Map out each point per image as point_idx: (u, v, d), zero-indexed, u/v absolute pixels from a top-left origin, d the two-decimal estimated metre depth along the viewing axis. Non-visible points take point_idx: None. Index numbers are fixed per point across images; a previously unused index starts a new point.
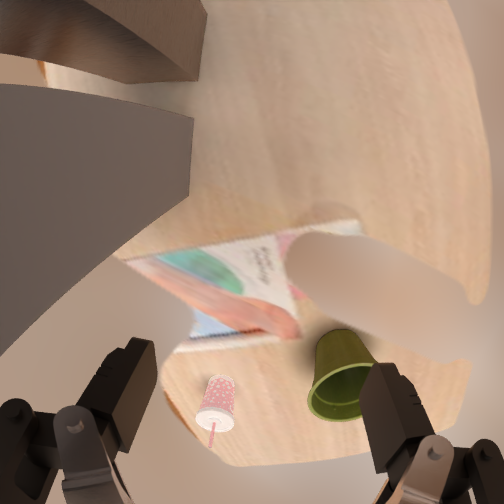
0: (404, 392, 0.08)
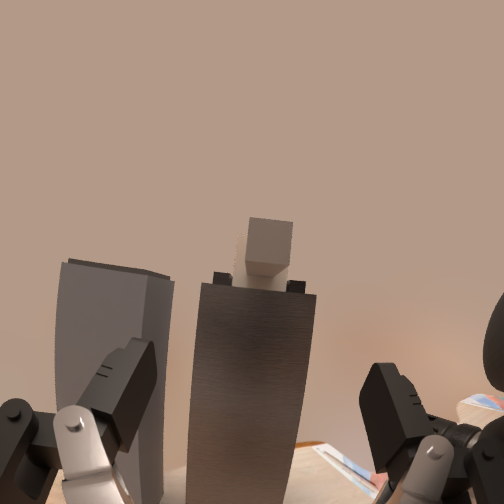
0: (404, 392, 0.08)
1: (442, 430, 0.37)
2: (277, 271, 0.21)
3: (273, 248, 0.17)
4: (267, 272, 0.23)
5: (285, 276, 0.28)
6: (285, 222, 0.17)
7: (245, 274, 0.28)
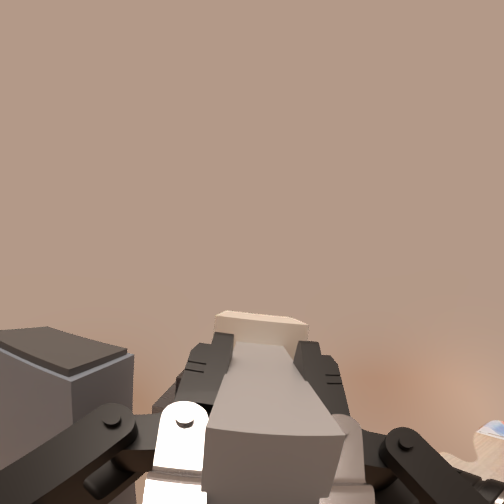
0: (320, 369, 0.09)
1: None
2: None
3: (278, 500, 0.04)
4: None
5: None
6: (322, 438, 0.04)
7: None
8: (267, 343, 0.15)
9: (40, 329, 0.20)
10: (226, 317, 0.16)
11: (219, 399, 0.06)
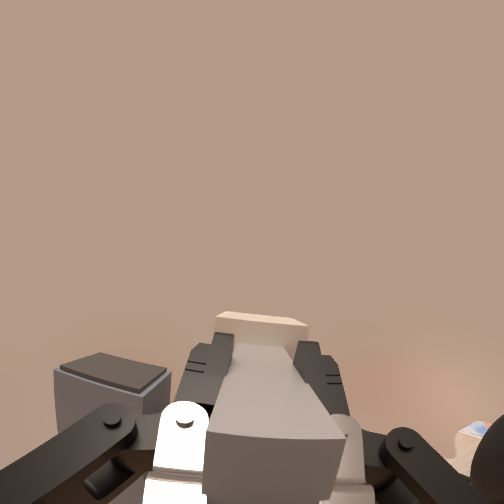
0: (320, 369, 0.09)
1: None
2: None
3: (279, 503, 0.04)
4: None
5: None
6: (323, 442, 0.04)
7: None
8: (267, 344, 0.15)
9: (97, 356, 0.30)
10: (226, 318, 0.16)
11: (219, 402, 0.06)
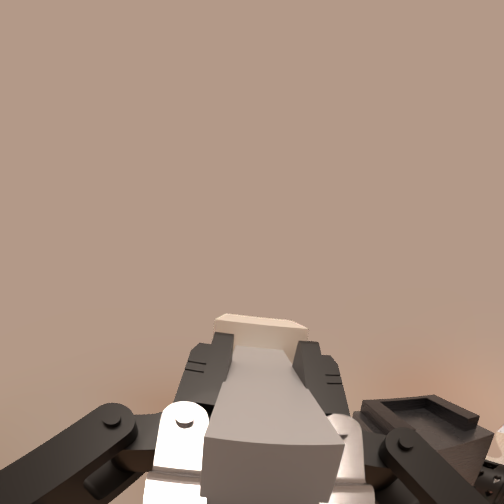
0: (320, 369, 0.09)
1: None
2: None
3: None
4: None
5: None
6: (321, 448, 0.04)
7: None
8: (266, 347, 0.15)
9: None
10: (225, 321, 0.15)
11: (218, 407, 0.06)
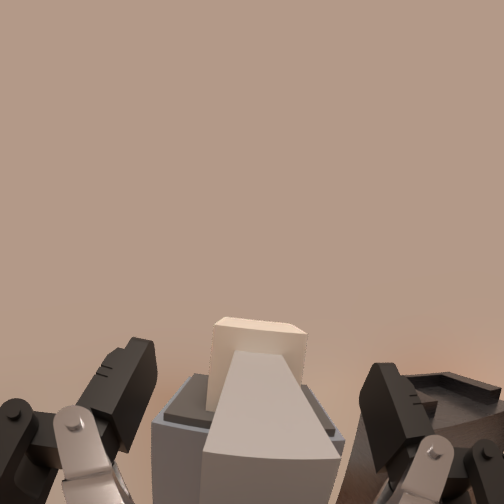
0: (404, 392, 0.08)
1: None
2: None
3: None
4: None
5: None
6: (318, 462, 0.04)
7: None
8: (266, 352, 0.15)
9: (199, 381, 0.20)
10: (224, 326, 0.15)
11: (216, 419, 0.06)
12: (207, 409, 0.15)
